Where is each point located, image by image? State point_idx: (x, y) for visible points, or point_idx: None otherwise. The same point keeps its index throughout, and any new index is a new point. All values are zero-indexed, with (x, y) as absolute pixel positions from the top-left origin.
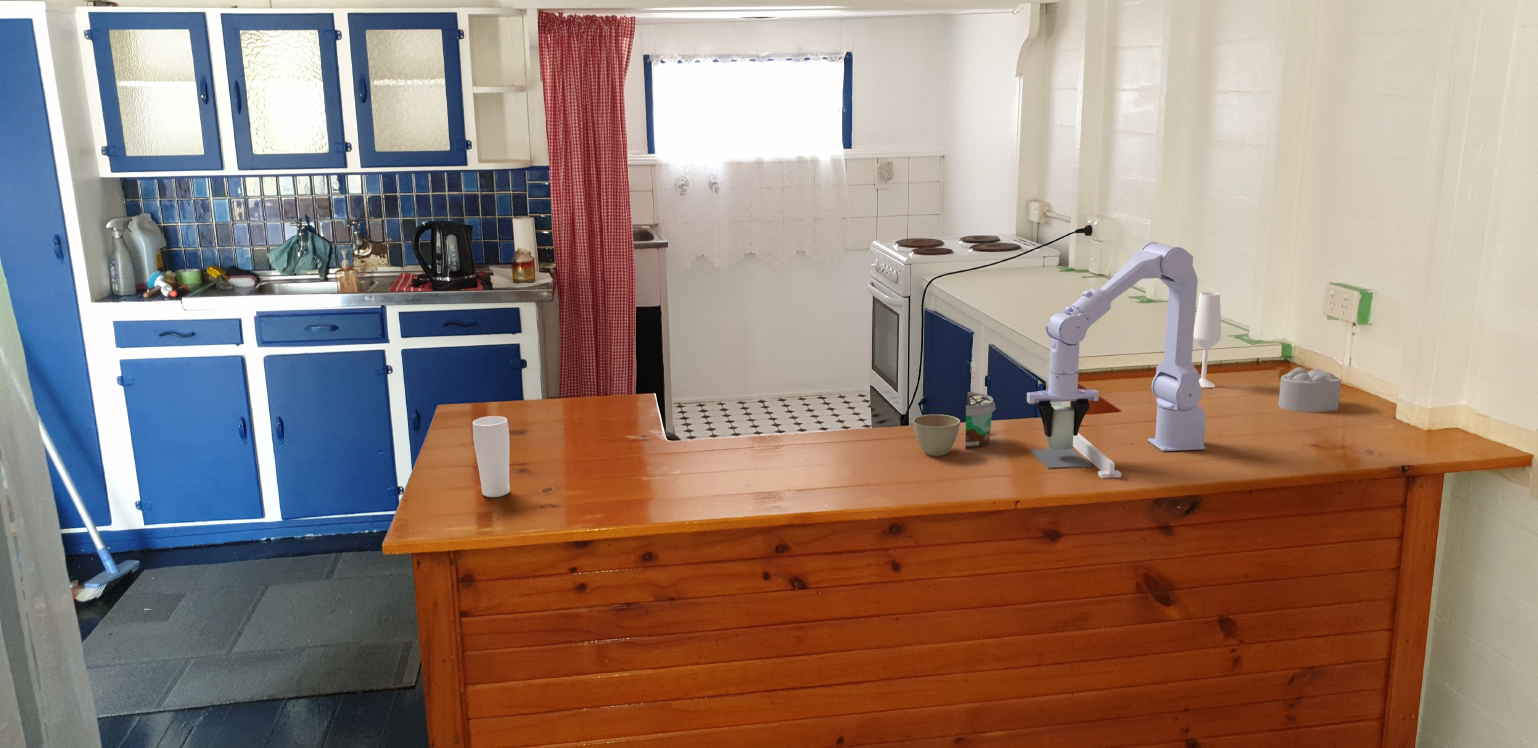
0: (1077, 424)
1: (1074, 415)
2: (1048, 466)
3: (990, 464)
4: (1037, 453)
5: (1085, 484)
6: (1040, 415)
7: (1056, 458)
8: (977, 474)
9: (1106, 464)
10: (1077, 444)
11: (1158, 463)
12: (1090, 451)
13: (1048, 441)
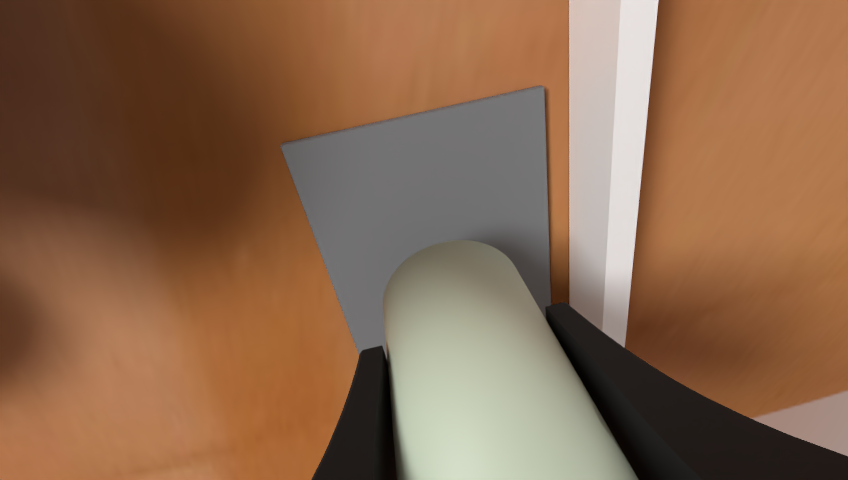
0: None
1: (625, 455)
2: None
3: (97, 367)
4: (326, 216)
5: None
6: (313, 476)
7: None
8: (79, 465)
9: None
10: (585, 115)
11: (826, 267)
12: (592, 305)
13: (384, 326)
